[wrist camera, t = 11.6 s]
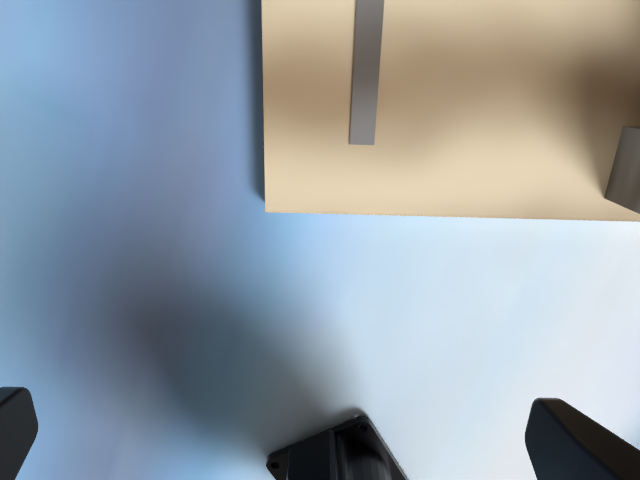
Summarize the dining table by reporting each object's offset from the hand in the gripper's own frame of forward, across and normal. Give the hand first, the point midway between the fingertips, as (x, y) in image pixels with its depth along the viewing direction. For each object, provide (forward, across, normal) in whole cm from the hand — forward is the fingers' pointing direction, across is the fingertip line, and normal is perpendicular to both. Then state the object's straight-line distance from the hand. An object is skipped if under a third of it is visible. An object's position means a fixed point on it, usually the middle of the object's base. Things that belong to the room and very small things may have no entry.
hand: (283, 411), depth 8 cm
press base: (+13, -9, -11) cm, 19 cm away
